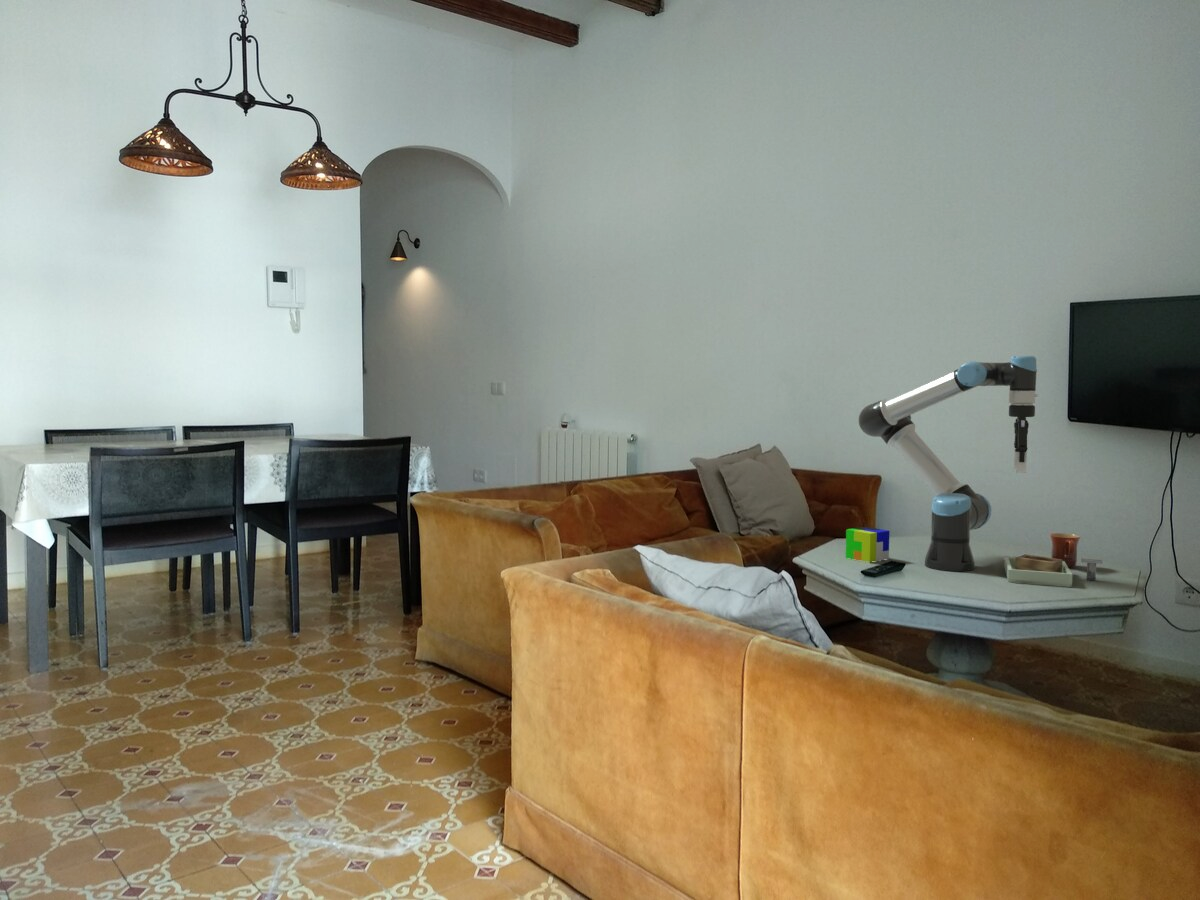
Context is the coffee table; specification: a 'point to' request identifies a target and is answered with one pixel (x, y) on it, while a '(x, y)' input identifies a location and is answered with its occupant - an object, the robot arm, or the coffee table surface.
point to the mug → (1065, 548)
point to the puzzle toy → (867, 544)
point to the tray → (1037, 575)
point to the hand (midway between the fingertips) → (1019, 470)
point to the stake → (1091, 567)
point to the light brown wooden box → (1038, 563)
